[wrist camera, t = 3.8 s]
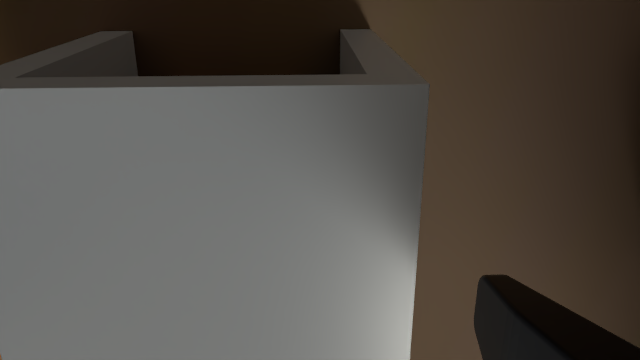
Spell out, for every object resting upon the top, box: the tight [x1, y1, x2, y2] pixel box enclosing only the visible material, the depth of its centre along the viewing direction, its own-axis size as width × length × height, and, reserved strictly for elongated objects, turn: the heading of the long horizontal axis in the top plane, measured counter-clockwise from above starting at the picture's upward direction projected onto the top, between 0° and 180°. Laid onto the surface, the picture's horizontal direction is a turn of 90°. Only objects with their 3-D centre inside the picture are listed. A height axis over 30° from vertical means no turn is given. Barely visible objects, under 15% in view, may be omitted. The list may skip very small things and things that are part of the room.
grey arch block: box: [0, 29, 430, 360], centre depth 12 cm, size 7×7×7 cm
